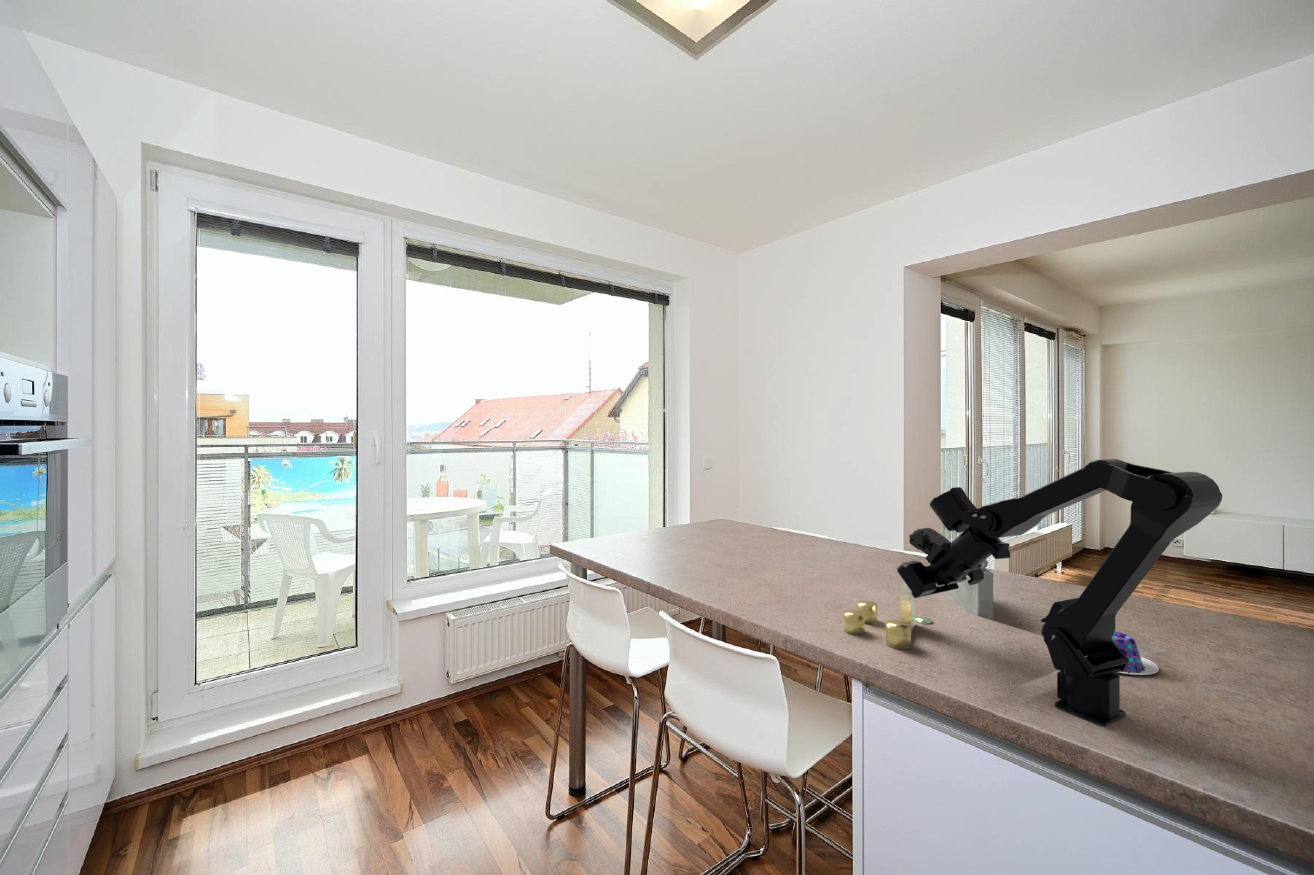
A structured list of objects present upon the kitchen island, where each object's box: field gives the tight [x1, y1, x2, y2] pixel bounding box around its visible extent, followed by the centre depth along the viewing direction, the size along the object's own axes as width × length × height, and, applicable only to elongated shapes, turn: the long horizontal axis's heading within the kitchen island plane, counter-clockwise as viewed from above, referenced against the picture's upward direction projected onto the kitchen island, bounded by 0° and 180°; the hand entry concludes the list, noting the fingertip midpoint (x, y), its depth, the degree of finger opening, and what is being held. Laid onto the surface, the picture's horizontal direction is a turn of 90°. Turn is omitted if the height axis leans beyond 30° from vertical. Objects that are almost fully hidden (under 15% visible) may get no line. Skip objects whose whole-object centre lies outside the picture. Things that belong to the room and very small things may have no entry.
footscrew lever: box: [885, 580, 916, 650], centre depth 107 cm, size 15×4×9 cm, turn 146°
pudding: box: [1112, 630, 1160, 676], centre depth 97 cm, size 12×12×5 cm
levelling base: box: [843, 600, 932, 636], centre depth 108 cm, size 22×22×5 cm
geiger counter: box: [948, 559, 994, 622], centre depth 130 cm, size 14×6×25 cm
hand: (914, 595), depth 109 cm, fingers closed
